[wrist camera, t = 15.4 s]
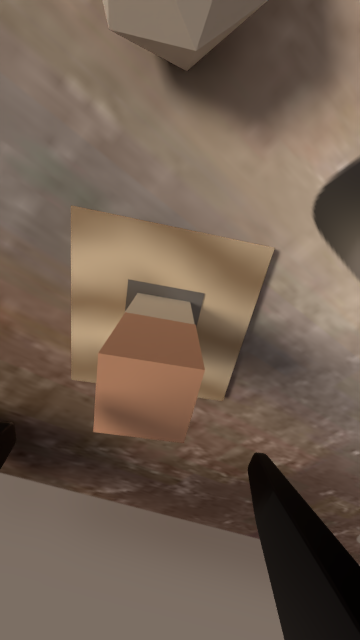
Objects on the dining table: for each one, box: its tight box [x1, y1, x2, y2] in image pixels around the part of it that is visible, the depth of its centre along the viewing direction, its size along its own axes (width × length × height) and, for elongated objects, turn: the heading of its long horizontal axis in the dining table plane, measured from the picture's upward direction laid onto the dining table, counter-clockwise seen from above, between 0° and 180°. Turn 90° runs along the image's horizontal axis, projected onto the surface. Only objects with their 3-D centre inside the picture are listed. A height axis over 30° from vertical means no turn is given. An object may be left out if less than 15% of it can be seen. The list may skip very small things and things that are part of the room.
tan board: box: [71, 206, 275, 401], centre depth 20 cm, size 16×16×1 cm
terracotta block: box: [93, 312, 205, 443], centre depth 12 cm, size 5×5×5 cm
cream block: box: [125, 293, 194, 324], centre depth 17 cm, size 5×5×5 cm
